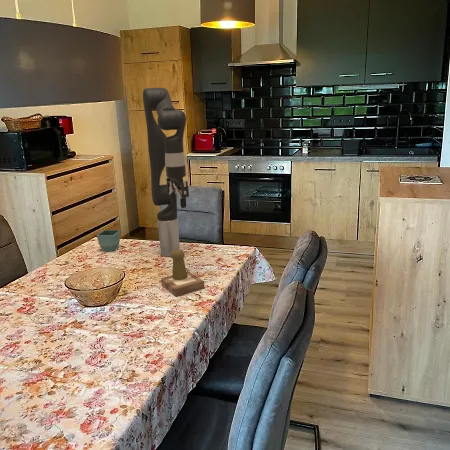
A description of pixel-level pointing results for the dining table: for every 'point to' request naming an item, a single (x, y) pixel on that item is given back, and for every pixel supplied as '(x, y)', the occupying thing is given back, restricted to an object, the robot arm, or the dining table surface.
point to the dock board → (183, 284)
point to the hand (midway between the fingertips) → (178, 205)
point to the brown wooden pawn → (178, 265)
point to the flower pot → (109, 239)
